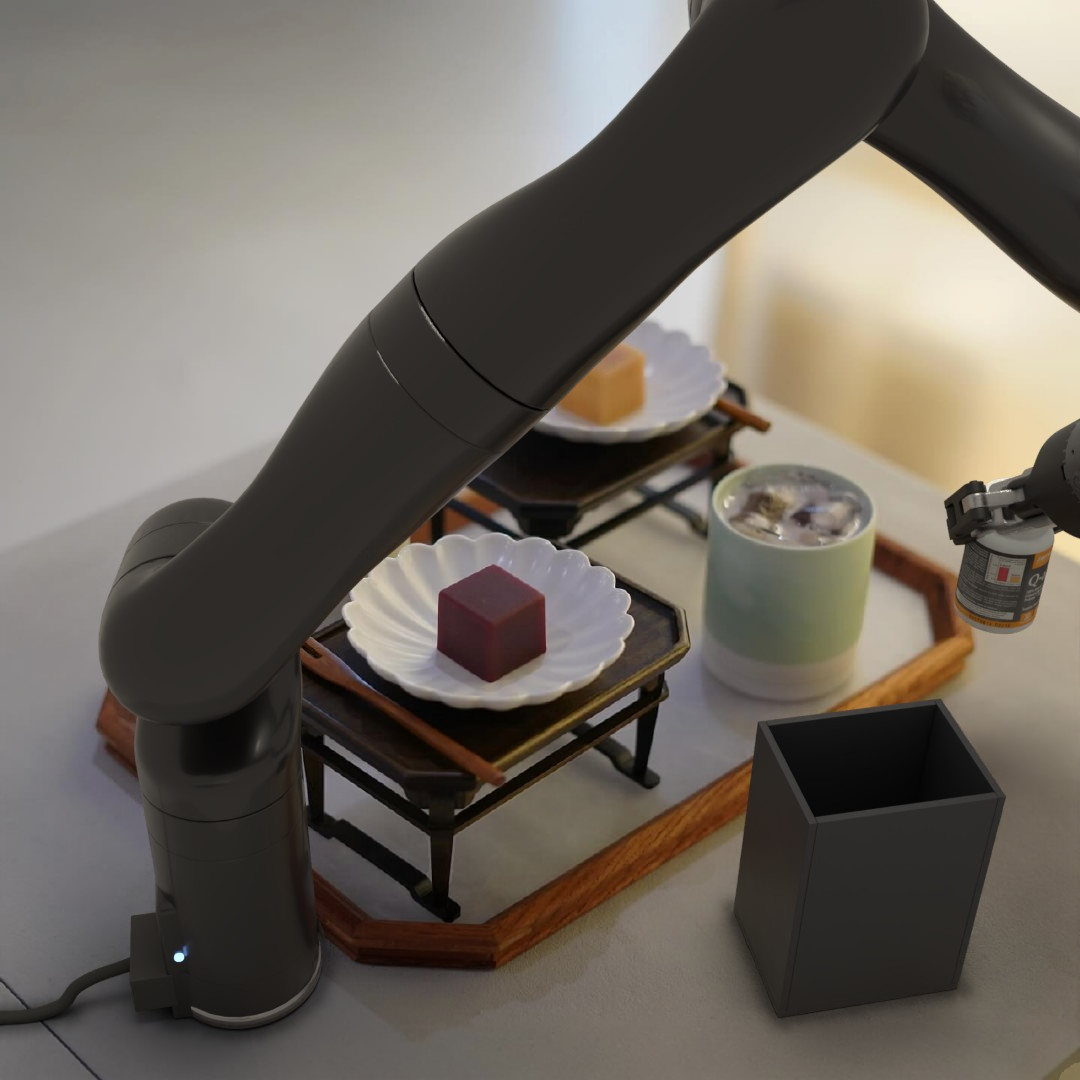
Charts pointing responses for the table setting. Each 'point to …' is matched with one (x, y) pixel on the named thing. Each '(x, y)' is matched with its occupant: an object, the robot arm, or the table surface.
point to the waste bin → (864, 854)
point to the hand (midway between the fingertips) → (998, 526)
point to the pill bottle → (1003, 579)
